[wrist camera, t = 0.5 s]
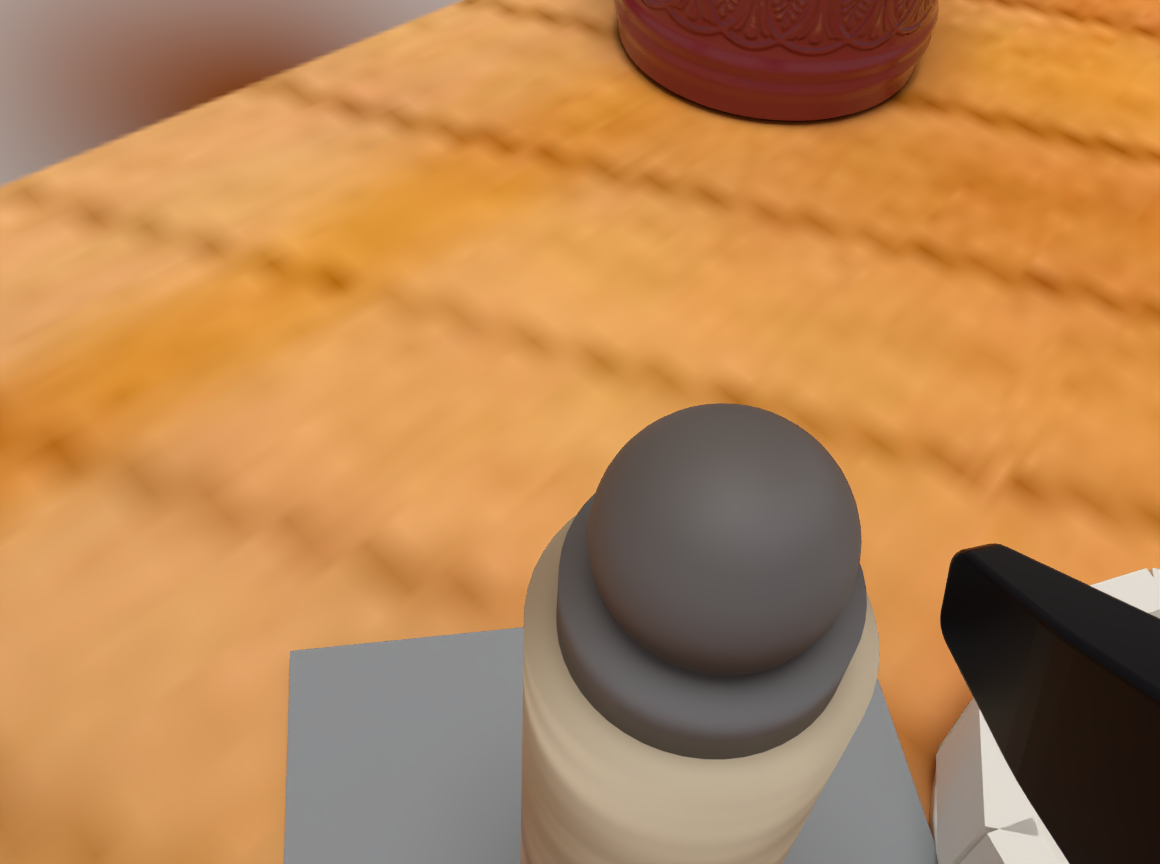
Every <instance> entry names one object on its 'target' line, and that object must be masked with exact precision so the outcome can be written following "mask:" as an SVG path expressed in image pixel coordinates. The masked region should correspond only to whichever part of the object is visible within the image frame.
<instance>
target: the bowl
mask: <svg viewBox="0 0 1160 864" xmlns="http://www.w3.org/2000/svg"><path fill="white" fill-rule="evenodd" d="M1090 586H1091V587H1094V588H1096V589H1098V590H1100V591H1102V592H1104V593H1106V594H1109V595H1111V596H1113V597H1115V598H1117V599H1119V600H1121V601H1124V602H1126V603H1128V604H1130V605H1132V606H1134V607H1136V608H1138V609H1141V610H1143V611H1145V612H1147V613H1149V614H1151V615H1153V616H1156V617H1158V618H1160V569H1155V568H1152V569H1151V570H1150V571H1148V570H1147V568H1145V569H1142V570H1139V571H1135V572H1132V573H1129V574H1126V575H1123V576H1119V577H1116V578H1113V579H1110V580H1106V581H1103V582H1100V583H1097V584H1093V585H1090ZM938 750H939V751H938V752H937V754H936V770H935V775H934V780H933V785H932V790H931V799H930V818H929V828H930V831H931V834H932V837H933V840H934V843H935V848H936V855H937V859H938V864H1069V863H1068V861H1067V859H1066V858H1065V856H1064V855H1063V853H1062V852H1061V850H1060V849H1059V847H1058V845H1057V844H1056V842H1055V841H1054V839H1053V838H1052V836H1051V835H1050V833H1049V831H1048V830H1047V828H1046V827H1045V825H1044V824H1043V822H1042V821H1041V819H1040V817H1039V816H1038V814H1037V813H1036V811H1035V810H1034V808H1033V807H1032V805H1031V803H1030V802H1029V800H1028V799H1027V797H1026V795H1025V794H1024V792H1023V790H1022V789H1021V787H1020V786H1019V784H1018V782H1017V781H1016V779H1015V777H1014V775H1013V773H1012V772H1011V770H1010V768H1009V766H1008V764H1007V762H1006V760H1005V759H1004V757H1003V755H1002V753H1001V751H1000V749H999V747H998V745H997V743H996V741H995V739H994V737H993V735H992V733H991V731H990V729H989V727H988V725H987V723H986V721H985V719H984V717H983V715H982V713H981V711H980V709H979V707H978V705H977V703H976V701H975V699H974V697H973V698H972V700H971V701H970V703H969V704H968V706H967V707H966V708H965V710H964V711H963V713H962V714H961V716H960V717H959V718H958V720H957V722H956V723H955V724H954V726H953V727H952V729H951V730H950V732H949V733H948V735H947V736H946V738H945V739H944V740H943V742H942V743H941V745H940V746H939V748H938Z"/></svg>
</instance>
